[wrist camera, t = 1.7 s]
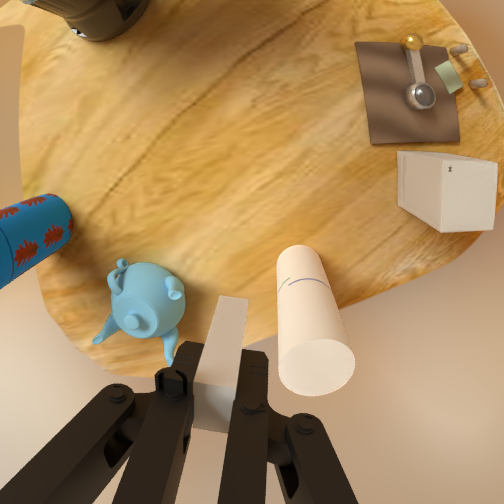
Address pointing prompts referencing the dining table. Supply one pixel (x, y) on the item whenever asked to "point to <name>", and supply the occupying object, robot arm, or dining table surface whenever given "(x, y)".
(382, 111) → the dial board
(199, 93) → the dining table surface
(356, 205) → the dining table surface
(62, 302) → the dining table surface
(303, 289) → the cylindrical container
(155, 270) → the teapot
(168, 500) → the robot arm
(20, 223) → the thermos
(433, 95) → the crank handle
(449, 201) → the supplement box
